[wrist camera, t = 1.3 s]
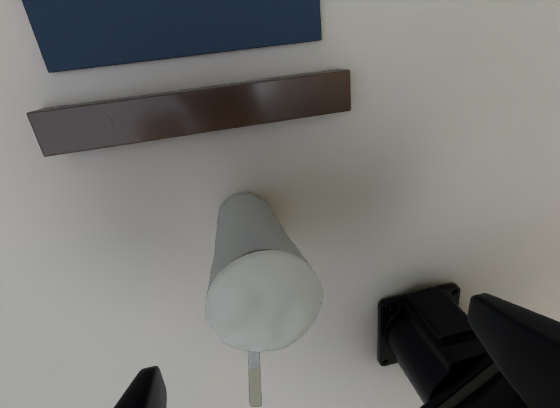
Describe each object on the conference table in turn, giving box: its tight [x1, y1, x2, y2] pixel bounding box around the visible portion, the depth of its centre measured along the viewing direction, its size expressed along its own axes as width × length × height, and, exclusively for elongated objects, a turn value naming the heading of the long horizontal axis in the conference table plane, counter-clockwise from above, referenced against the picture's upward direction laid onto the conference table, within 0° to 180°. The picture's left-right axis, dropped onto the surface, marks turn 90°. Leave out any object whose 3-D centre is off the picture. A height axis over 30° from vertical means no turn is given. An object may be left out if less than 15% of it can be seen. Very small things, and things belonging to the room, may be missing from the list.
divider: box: [27, 69, 351, 157], centre depth 17 cm, size 2×15×2 cm, turn 96°
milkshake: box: [205, 193, 323, 407], centre depth 16 cm, size 5×5×10 cm
